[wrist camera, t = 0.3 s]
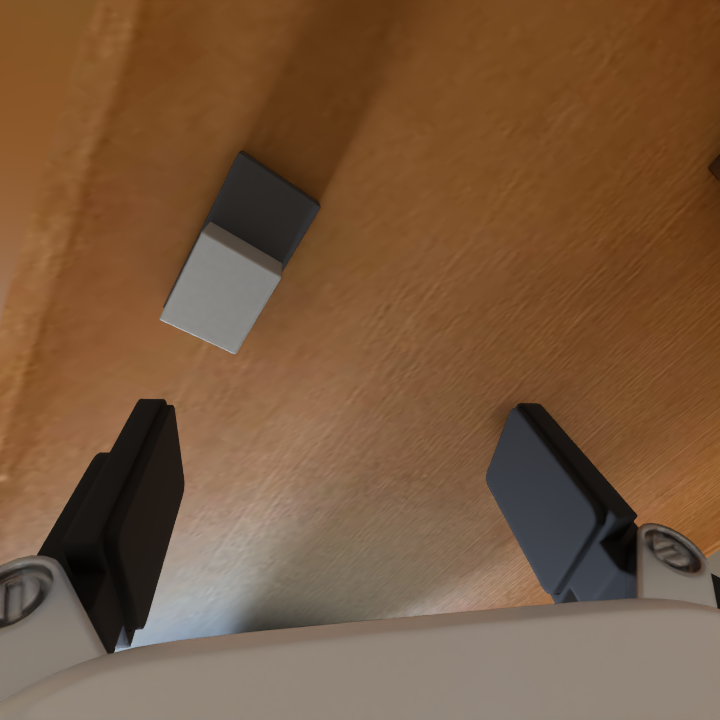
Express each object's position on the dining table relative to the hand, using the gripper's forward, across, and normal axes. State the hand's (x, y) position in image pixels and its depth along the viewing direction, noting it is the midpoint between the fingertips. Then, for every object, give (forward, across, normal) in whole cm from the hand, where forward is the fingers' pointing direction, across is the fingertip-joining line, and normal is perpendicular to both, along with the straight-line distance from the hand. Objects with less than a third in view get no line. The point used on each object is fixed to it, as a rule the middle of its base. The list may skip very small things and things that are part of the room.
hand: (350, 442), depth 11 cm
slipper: (+14, +4, -1) cm, 15 cm away
